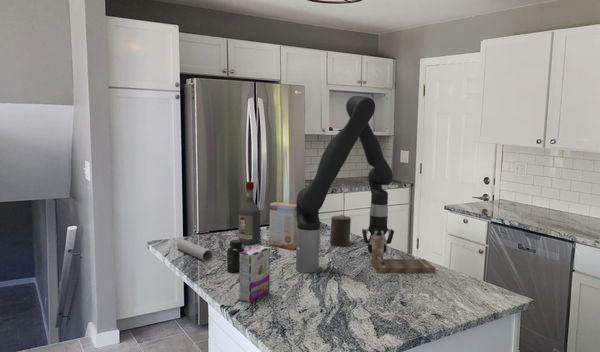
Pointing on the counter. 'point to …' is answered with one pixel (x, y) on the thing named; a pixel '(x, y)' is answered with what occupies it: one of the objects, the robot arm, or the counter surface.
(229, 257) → the supplement bottle
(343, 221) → the pillar candle
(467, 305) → the counter surface
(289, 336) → the counter surface
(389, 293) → the counter surface
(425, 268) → the walnut board
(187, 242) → the tube
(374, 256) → the marking gauge
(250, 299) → the candy bar box
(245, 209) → the liquor
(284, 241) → the cracker box
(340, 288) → the counter surface
